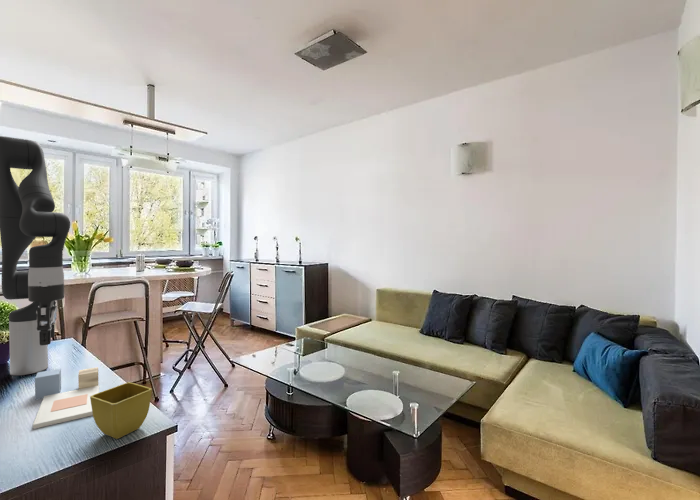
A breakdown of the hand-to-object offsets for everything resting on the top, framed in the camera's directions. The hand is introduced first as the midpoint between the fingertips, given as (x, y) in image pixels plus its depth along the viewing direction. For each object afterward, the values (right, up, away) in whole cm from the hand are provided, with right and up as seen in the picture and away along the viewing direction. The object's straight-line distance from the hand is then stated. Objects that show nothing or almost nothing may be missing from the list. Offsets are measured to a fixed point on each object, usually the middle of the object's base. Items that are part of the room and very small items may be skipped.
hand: (47, 341), depth 96 cm
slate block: (0, -15, 0) cm, 15 cm away
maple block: (+8, -15, +5) cm, 18 cm away
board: (+12, -15, -7) cm, 20 cm away
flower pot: (+33, -16, -19) cm, 41 cm away
